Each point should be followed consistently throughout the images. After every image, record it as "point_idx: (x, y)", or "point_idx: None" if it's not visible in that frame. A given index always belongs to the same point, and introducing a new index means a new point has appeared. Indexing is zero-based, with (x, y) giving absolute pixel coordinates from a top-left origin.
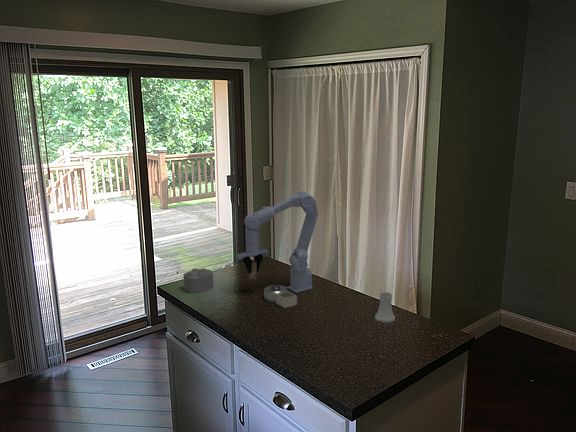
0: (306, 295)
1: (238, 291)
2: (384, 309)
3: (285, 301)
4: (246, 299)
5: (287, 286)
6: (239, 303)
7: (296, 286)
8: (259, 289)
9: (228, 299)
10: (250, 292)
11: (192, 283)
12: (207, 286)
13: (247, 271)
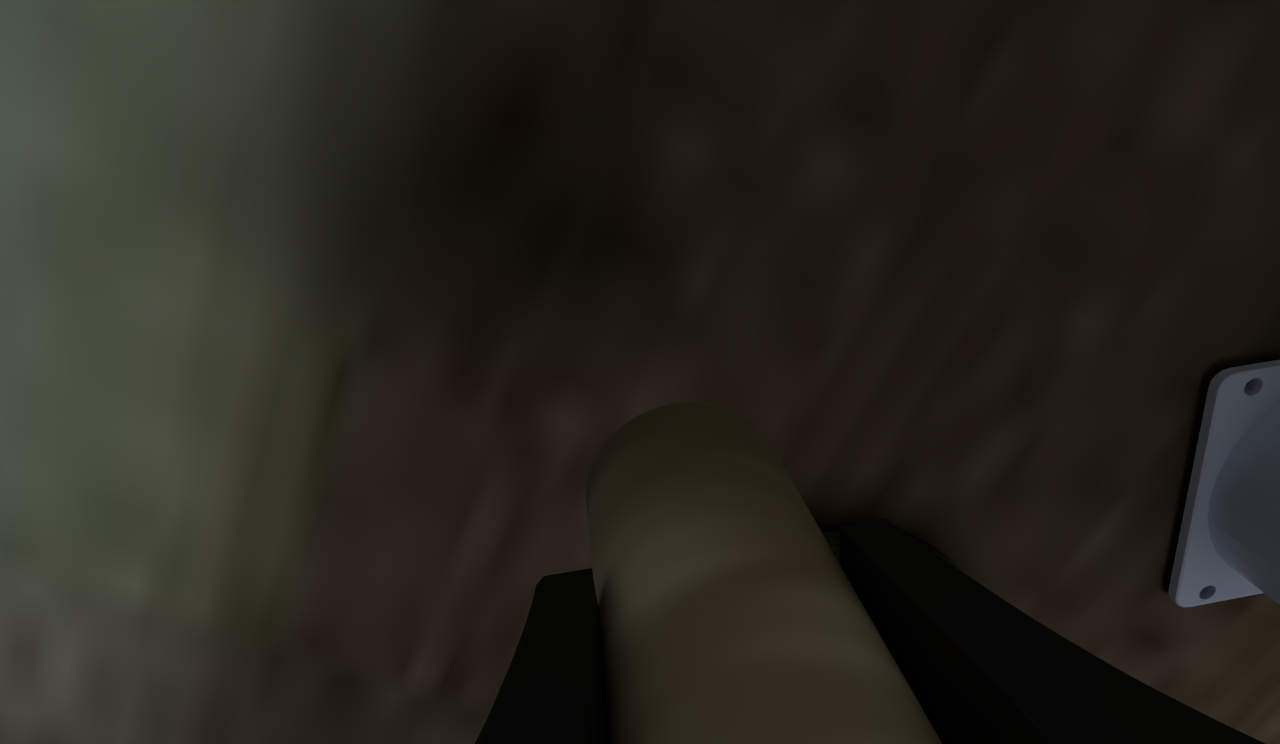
0: (1189, 699)
1: (386, 128)
2: None
3: None
4: (417, 540)
5: (1236, 383)
6: (265, 632)
7: (1269, 594)
8: (804, 228)
9: (101, 426)
10: (592, 292)
11: None
12: None
13: (532, 608)
